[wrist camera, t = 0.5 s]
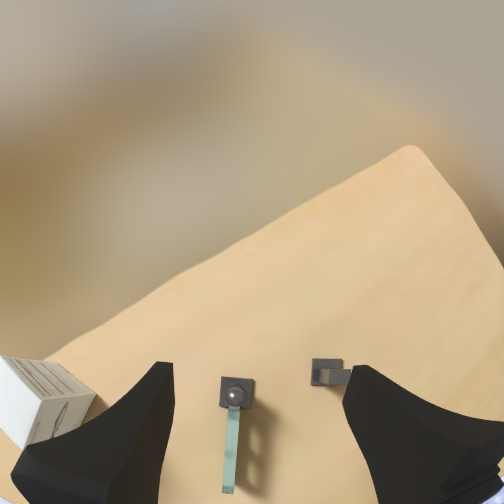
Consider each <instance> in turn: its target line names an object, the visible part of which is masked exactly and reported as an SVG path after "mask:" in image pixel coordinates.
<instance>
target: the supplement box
mask: <svg viewBox="0 0 504 504" xmlns="http://www.w3.org/2000/svg"><path fill="white" fill-rule="evenodd" d="M95 396H96V393H95V392H93V391H92V390H91V389H89V388H88V387H87V386H86V385H84V384H83V383H82V382H81V381H79V380H78V379H77V378H76V377H74V376H73V375H72V374H71V373H70V372H68V371H67V370H66V369H65V368H64V367H63V366H61V365H60V364H59V363H53V362H45V361H35V360H26V359H18V358H11V357H5V356H0V428H1V429H2V430H3V431H4V432H5V433H6V434H7V435H8V436H9V437H10V438H11V439H12V441H13V442H14V443H15V444H16V445H17V446H18V447H19V448H20V449H22V450H23V451H24V449H25V448H26V446H27V445H29V444H33V443H37V442H41V441H44V440H48V439H51V438H54V437H57V436H60V435H62V434H65V433H67V432H69V431H72V430H74V429H76V428H78V427H80V426H81V423H82V421H83V419H84V417H85V415H86V413H87V411H88V409H89V407H90V405H91V403H92V401H93V399H94V397H95Z"/></svg>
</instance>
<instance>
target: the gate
mask: <svg viewBox="0 0 504 504" xmlns="http://www.w3.org/2000/svg"><path fill="white" fill-rule="evenodd" d="M239 419H240V406H238V407H233V406H229V409H228V419H227V432H226V445H225V459H224V472H223V486H222V493H226V494H233V493H234V481H235V468H236V456H237V444H238V431H239Z"/></svg>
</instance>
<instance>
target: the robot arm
mask: <svg viewBox="0 0 504 504" xmlns="http://www.w3.org/2000/svg"><path fill="white" fill-rule="evenodd" d="M342 404H343V408H344V411H345V415H346V418H347V421H348V424H349V426H350V428H351V430H352V432H353V435H354V437H355V439H356V441H357V443H358V445H359V447H360V449H361V451H362V453H363V456H364V458H365V460H366V462H367V465H368V467H369V470H370V473H371V477H372V480H373V483H374V487H375V491H376V494H377V498H378V503H379V504H504V475H503V476H502V477H501V478H500V477H499V476H498V473H499V472H500V468H499V467H498V465H497V464H498V463H499V462H500V461H501V459H502V458H503V457H504V422H501V421H490V420H483V419H477V418H472V417H468V416H464V415H461V414H458V413H454V412H451V411H448V410H446V409H443V408H441V407H438V406H436V405H434V404H432V403H429V402H427V401H425V400H423V399H421V398H420V397H418V396H416V395H414V394H412V393H411V392H409V391H407V390H406V389H404V388H402V387H401V386H399V385H398V384H396V383H395V382H393V381H392V380H390V379H389V378H387V377H386V376H384V375H383V374H381V373H379V372H378V371H376V370H375V369H373V368H371V367H370V366H368V365H357V366H353V370H352V373H351V376H350V379H349V383H348V386H347V389H346V392H345V395H344V398H343V401H342ZM174 407H175V393H174V375H173V363H169V362H159V361H157V362H156V363H155V364H154V365H153V366H152V367H151V368H150V370H149V371H148V372H147V373H146V374H145V375H144V376H143V377H142V378H141V380H140V381H139V382H138V383H137V384H136V385H135V386H134V387H133V388H132V389H131V390H130V391H129V392H128V393H126V394H125V395H124V396H123V397H122V398H121V399H120V400H119V401H117V402H116V403H115V404H114V405H113V406H111V407H110V408H109V409H107V410H106V411H105V412H103V413H102V414H100V415H99V416H97V417H96V418H94V419H92V420H91V421H89V422H87V423H85V424H84V425H82V426H80V427H78V428H76V429H74V430H72V431H69V432H67V433H65V434H62V435H60V436H57V437H54V438H51V439H48V440H44V441H41V442H37V443H33V444H29V445H27V446H26V448H25V449H24V451H23V452H22V454H21V455H20V457H19V459H18V461H17V463H16V465H15V467H14V469H13V471H12V473H11V474H10V475H11V479H12V481H13V483H14V485H15V486H16V488H17V489H18V490H19V491H20V493H21V494H22V495H23V496H24V497H25V499H26V500H27V501H28V502H29V503H30V504H158V493H159V483H160V474H161V469H162V464H163V460H164V456H165V452H166V448H167V444H168V440H169V436H170V432H171V428H172V423H173V415H174ZM0 504H14V503H12V502H10V501H8V500H6V499H5V498H3V497H1V496H0Z"/></svg>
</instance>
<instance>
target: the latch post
mask: <svg viewBox="0 0 504 504" xmlns="http://www.w3.org/2000/svg"><path fill="white" fill-rule="evenodd" d="M341 367H342V359H312V373H311V385H340V384H348V383H349V379H350V376H351V369H341Z"/></svg>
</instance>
